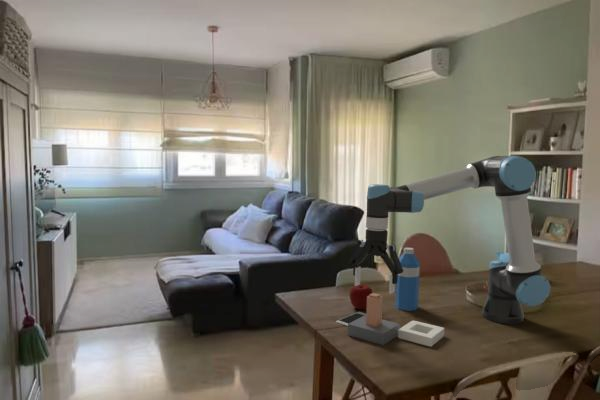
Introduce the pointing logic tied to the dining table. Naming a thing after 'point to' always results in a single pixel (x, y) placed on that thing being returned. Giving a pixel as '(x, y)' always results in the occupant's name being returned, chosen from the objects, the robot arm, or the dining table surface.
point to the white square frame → (421, 333)
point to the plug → (374, 310)
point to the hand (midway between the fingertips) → (374, 288)
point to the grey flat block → (373, 330)
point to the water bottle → (408, 281)
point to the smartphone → (350, 318)
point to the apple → (360, 296)
